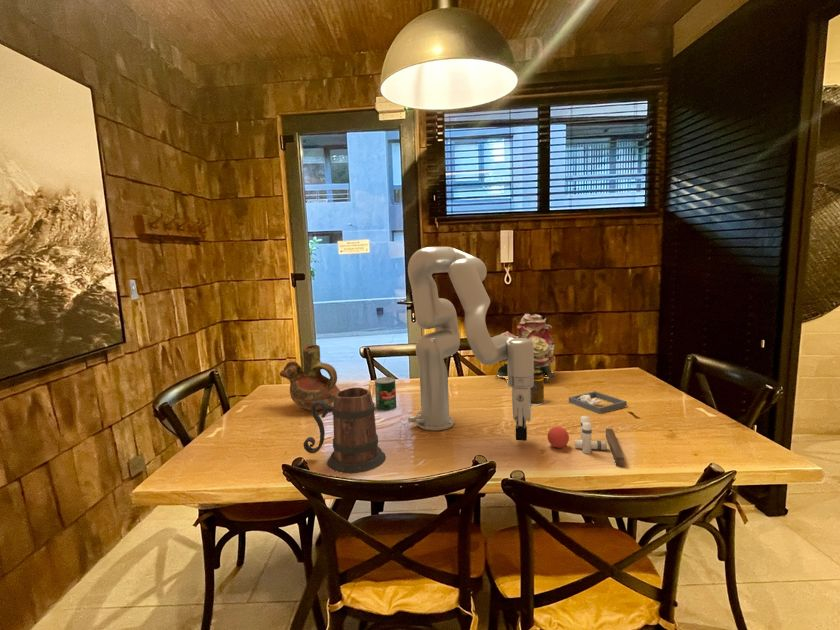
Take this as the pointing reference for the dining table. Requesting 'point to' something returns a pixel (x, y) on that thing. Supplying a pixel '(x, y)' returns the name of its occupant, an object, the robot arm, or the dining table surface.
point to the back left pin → (584, 419)
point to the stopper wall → (615, 447)
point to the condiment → (537, 389)
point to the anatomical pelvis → (589, 399)
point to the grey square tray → (617, 404)
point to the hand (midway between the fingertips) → (521, 439)
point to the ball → (558, 437)
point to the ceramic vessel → (311, 380)
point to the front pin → (593, 444)
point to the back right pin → (586, 437)
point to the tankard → (350, 432)
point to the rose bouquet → (535, 344)
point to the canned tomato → (385, 393)
